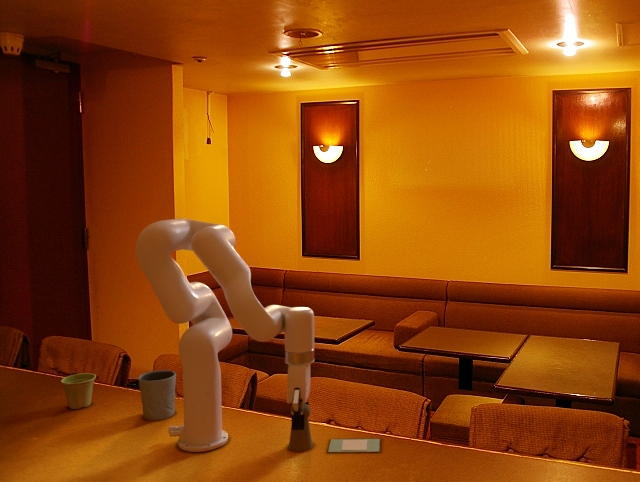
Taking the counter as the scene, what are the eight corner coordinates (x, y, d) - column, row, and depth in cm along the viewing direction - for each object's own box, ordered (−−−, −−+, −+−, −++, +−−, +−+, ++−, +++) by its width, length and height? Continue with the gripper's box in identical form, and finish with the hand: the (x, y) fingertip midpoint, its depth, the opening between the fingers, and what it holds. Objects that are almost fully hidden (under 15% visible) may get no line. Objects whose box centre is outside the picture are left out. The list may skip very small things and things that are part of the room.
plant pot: (86, 411, 181) (85, 383, 181) (55, 411, 181) (54, 383, 181) (102, 400, 190) (101, 373, 190) (72, 400, 191) (71, 373, 190)
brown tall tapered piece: (307, 452, 154) (307, 410, 153) (285, 450, 155) (284, 408, 154) (315, 442, 160) (315, 401, 159) (293, 440, 161) (293, 399, 160)
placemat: (328, 452, 154) (328, 451, 154) (330, 439, 161) (330, 438, 161) (379, 452, 154) (379, 451, 154) (379, 439, 161) (379, 438, 161)
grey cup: (183, 413, 180) (183, 373, 179) (154, 424, 171) (153, 383, 171) (162, 406, 185) (161, 367, 185) (132, 417, 177) (131, 376, 176)
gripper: (290, 346, 164) (291, 410, 165) (279, 366, 147) (279, 437, 148) (318, 346, 165) (318, 410, 166) (309, 366, 147) (310, 436, 148)
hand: (300, 422), depth 157 cm, fingers open, 7 cm apart
